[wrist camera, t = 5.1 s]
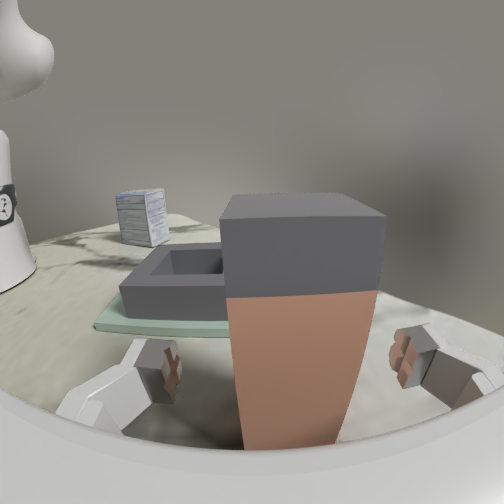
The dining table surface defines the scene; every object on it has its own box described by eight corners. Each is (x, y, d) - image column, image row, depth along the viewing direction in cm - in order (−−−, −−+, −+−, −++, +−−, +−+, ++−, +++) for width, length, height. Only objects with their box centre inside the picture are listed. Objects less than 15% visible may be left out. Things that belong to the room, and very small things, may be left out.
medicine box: (170, 240, 43) (165, 188, 41) (152, 248, 40) (144, 192, 37) (139, 236, 47) (133, 190, 44) (121, 244, 43) (114, 194, 40)
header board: (96, 330, 20) (83, 290, 18) (143, 273, 31) (138, 243, 30) (290, 335, 19) (292, 290, 18) (278, 270, 30) (278, 237, 29)
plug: (245, 459, 10) (219, 219, 6) (247, 400, 14) (233, 195, 10) (330, 452, 10) (386, 216, 6) (318, 395, 13) (340, 193, 10)
